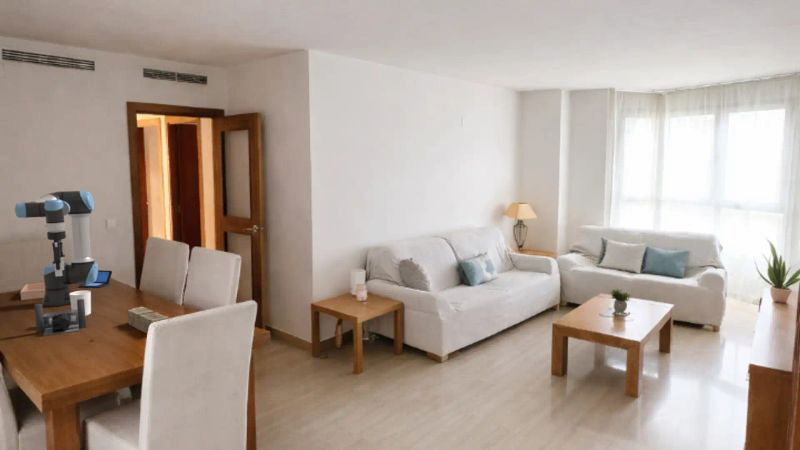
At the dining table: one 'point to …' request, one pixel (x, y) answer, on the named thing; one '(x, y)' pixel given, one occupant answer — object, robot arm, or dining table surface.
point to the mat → (71, 329)
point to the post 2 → (81, 313)
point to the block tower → (143, 318)
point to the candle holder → (81, 295)
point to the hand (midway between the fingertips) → (60, 273)
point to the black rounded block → (60, 323)
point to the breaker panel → (72, 314)
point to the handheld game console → (99, 280)
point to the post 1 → (39, 318)
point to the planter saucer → (33, 291)
